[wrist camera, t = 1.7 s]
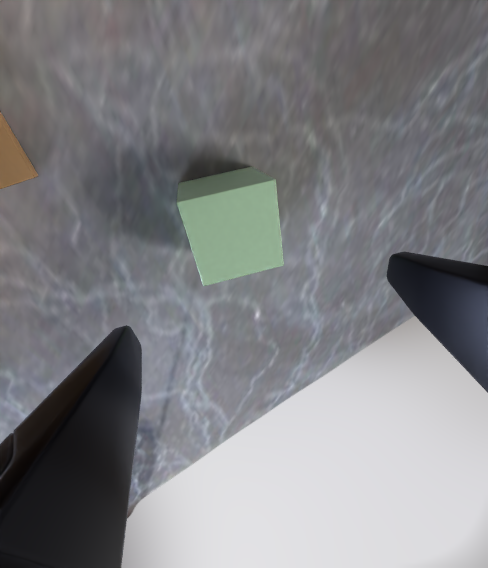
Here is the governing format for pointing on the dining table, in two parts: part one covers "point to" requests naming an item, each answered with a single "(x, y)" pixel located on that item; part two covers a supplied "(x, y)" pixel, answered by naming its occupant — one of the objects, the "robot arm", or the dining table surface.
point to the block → (232, 223)
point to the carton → (12, 158)
